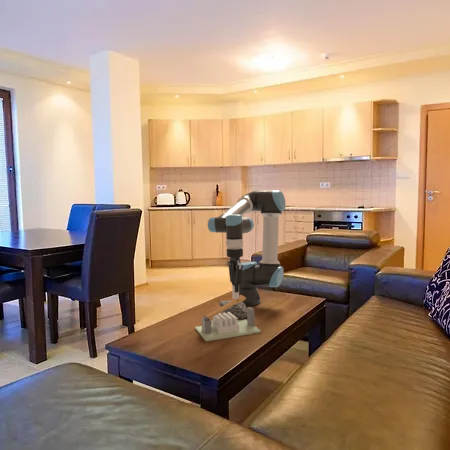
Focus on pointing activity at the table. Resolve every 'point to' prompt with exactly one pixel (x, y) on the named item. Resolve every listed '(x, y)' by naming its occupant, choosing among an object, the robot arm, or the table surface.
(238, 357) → the table surface
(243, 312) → the rock
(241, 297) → the strap
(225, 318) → the heatsink board
